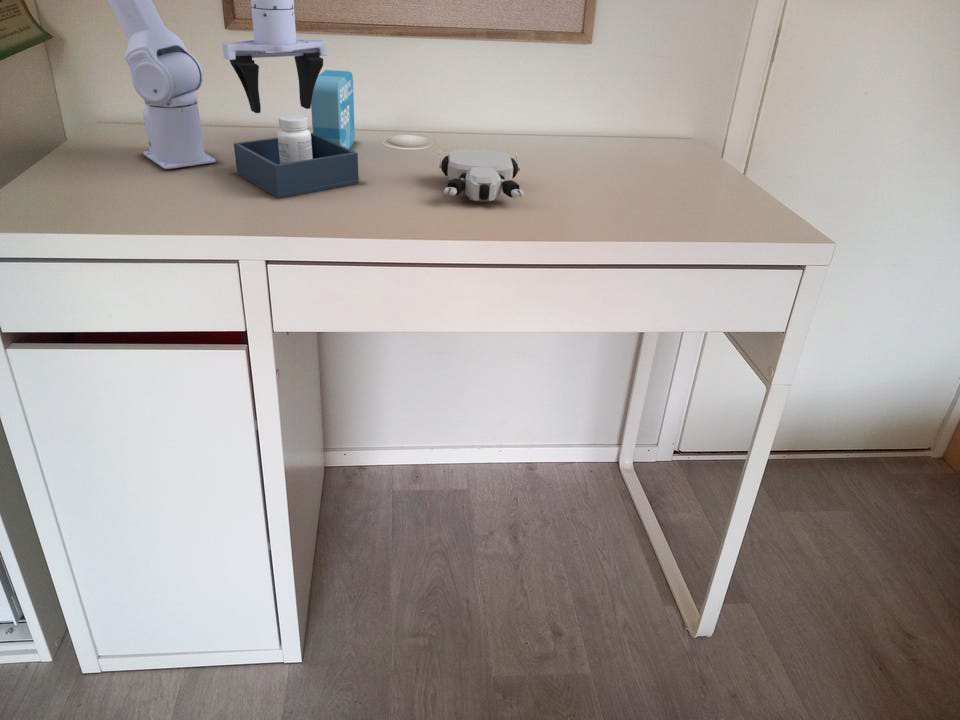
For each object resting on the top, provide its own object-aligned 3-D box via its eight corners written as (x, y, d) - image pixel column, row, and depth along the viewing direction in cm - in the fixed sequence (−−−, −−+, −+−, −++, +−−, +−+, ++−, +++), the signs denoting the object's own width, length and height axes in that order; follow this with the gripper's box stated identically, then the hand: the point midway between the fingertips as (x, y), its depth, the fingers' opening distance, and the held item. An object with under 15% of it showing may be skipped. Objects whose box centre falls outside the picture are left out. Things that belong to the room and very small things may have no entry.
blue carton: (341, 160, 120) (338, 83, 113) (313, 158, 120) (309, 81, 114) (355, 141, 130) (353, 69, 124) (329, 139, 130) (326, 68, 124)
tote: (236, 173, 111) (233, 143, 108) (314, 161, 118) (313, 132, 116) (277, 198, 102) (274, 165, 100) (358, 183, 110) (357, 152, 108)
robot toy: (526, 214, 104) (515, 175, 117) (529, 184, 102) (517, 147, 114) (440, 212, 103) (438, 173, 116) (441, 181, 101) (438, 144, 113)
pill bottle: (313, 170, 112) (310, 113, 108) (313, 179, 108) (309, 121, 104) (281, 170, 112) (277, 113, 107) (280, 179, 108) (274, 120, 103)
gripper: (230, 11, 94) (242, 119, 101) (334, 10, 102) (338, 111, 109) (212, 5, 99) (225, 108, 106) (313, 4, 107) (318, 101, 114)
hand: (281, 109), depth 108 cm, fingers open, 7 cm apart
